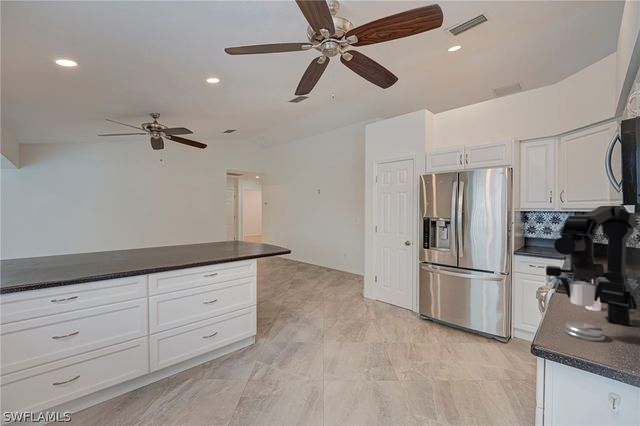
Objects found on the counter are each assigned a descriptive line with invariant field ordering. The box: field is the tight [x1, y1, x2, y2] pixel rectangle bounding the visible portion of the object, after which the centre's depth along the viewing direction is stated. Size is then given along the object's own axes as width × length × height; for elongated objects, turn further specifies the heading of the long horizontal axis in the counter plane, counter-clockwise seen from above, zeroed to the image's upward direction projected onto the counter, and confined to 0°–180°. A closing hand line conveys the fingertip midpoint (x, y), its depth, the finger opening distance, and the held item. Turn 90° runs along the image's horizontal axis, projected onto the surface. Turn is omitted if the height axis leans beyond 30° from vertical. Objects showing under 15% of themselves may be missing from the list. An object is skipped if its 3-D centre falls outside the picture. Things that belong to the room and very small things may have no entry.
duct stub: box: [563, 321, 606, 343], centre depth 93 cm, size 10×10×3 cm
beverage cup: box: [584, 279, 602, 312], centre depth 118 cm, size 6×6×14 cm
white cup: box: [568, 280, 596, 307], centre depth 94 cm, size 7×7×7 cm
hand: (582, 299), depth 94 cm, fingers closed on white cup, 6 cm apart
